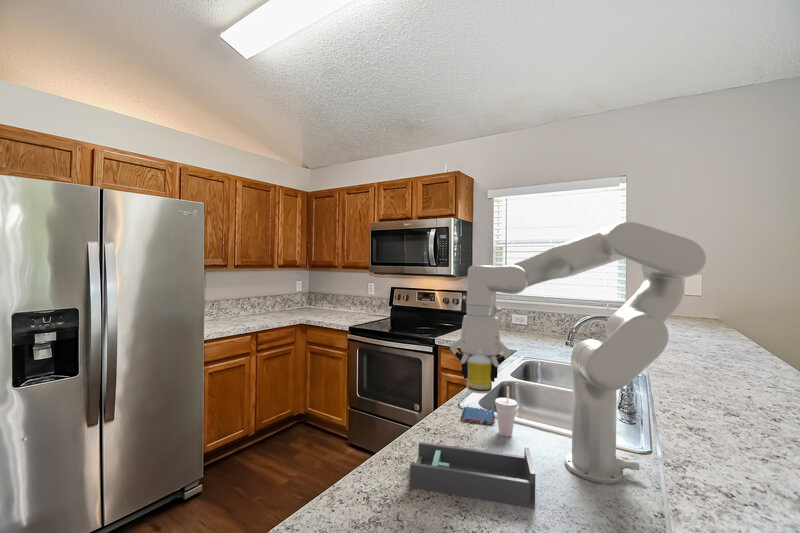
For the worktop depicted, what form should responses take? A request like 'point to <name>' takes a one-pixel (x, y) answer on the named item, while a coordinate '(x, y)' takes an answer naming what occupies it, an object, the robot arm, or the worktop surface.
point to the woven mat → (478, 415)
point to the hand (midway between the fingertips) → (479, 378)
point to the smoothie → (505, 414)
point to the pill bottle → (479, 373)
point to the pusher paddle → (439, 460)
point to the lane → (476, 474)
